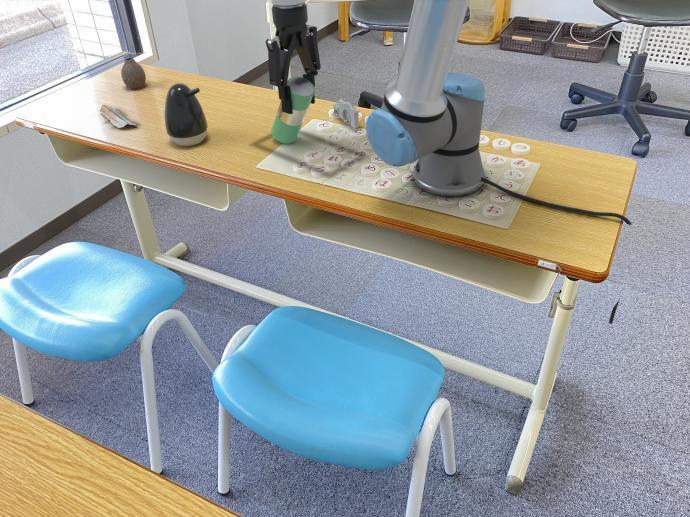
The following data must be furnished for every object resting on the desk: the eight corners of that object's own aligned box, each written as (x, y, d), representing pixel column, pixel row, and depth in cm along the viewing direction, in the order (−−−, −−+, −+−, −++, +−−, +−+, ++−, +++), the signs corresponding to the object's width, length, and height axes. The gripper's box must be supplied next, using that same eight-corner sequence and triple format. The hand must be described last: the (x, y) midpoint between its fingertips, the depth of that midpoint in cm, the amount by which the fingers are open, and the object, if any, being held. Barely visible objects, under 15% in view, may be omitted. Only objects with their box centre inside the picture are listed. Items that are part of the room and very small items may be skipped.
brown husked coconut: (121, 91, 180) (113, 62, 174) (131, 82, 185) (123, 54, 180) (142, 91, 179) (134, 63, 173) (151, 83, 184) (144, 55, 179)
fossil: (94, 112, 167) (103, 100, 167) (103, 119, 169) (113, 107, 170) (119, 132, 155) (129, 119, 156) (129, 139, 158) (139, 127, 158)
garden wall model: (333, 114, 160) (332, 93, 156) (338, 113, 161) (337, 92, 157) (354, 130, 152) (353, 109, 148) (360, 129, 152) (360, 107, 149)
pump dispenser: (201, 152, 145) (189, 93, 136) (163, 150, 147) (148, 91, 138) (217, 134, 153) (206, 77, 144) (180, 132, 155) (167, 75, 146)
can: (320, 91, 136) (301, 72, 137) (300, 100, 132) (281, 81, 133) (302, 137, 148) (284, 120, 150) (283, 147, 145) (265, 129, 146)
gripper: (308, -9, 132) (316, 90, 146) (241, 12, 121) (257, 117, 135) (333, -4, 128) (338, 97, 142) (266, 17, 117) (279, 125, 131)
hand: (299, 107), depth 138 cm, fingers closed on can, 7 cm apart
